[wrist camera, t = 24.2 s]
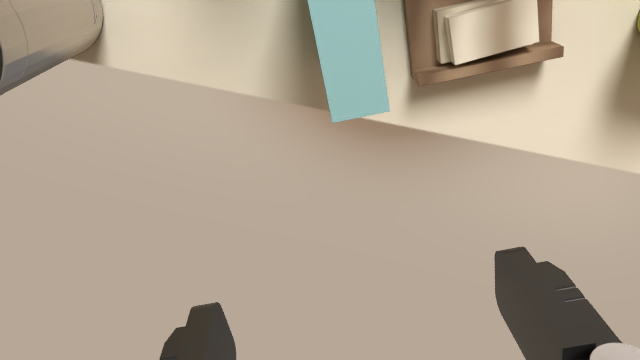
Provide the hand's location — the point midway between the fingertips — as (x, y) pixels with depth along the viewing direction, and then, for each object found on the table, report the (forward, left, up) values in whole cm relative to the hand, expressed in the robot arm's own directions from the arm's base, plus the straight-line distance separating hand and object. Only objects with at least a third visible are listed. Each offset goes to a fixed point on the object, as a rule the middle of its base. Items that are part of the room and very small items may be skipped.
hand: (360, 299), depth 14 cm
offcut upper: (+16, -2, -35) cm, 39 cm away
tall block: (+2, +4, -38) cm, 38 cm away
